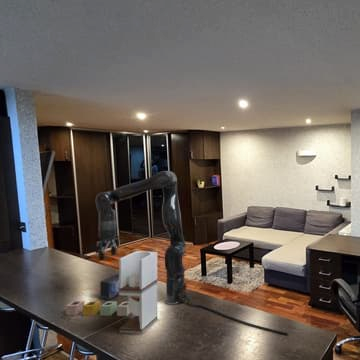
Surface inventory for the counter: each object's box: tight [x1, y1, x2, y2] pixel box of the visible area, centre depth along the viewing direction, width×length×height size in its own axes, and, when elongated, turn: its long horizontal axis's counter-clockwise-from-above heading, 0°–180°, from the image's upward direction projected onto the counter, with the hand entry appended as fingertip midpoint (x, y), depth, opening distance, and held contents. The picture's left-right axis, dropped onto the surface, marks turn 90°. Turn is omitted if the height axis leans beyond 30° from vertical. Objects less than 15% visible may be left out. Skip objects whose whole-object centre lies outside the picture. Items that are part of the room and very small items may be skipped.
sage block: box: [99, 300, 118, 317], centre depth 142 cm, size 5×5×5 cm
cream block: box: [116, 301, 132, 317], centre depth 142 cm, size 5×5×5 cm
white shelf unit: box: [118, 250, 158, 335], centre depth 131 cm, size 11×11×35 cm
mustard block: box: [82, 300, 101, 317], centre depth 141 cm, size 5×5×5 cm
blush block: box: [65, 300, 85, 316], centre depth 141 cm, size 5×5×5 cm
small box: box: [99, 274, 120, 301], centre depth 160 cm, size 11×6×10 cm, turn 168°
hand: (107, 257), depth 149 cm, fingers open, 8 cm apart
